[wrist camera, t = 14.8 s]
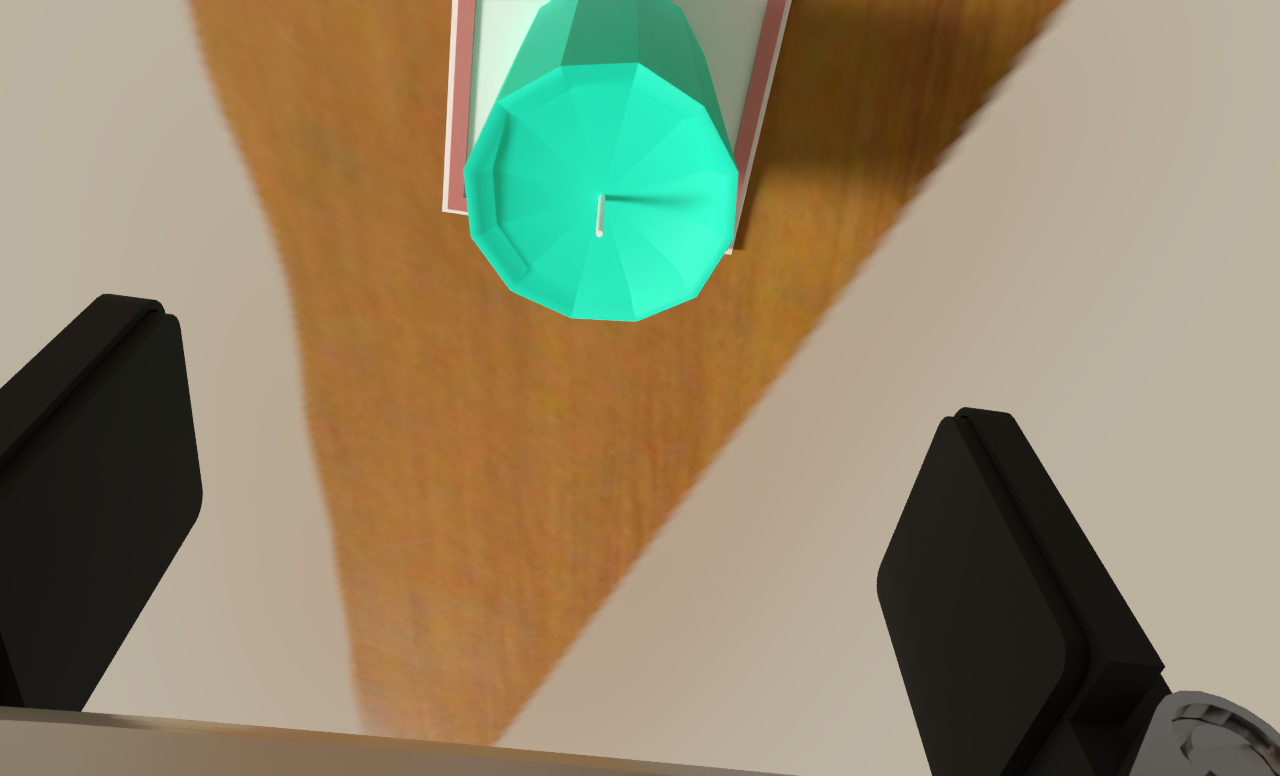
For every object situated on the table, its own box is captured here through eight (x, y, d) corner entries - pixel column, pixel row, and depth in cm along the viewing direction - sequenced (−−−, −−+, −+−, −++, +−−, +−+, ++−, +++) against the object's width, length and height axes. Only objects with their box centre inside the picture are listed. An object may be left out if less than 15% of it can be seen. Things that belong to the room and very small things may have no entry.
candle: (746, 81, 28) (809, 234, 18) (612, 209, 31) (602, 408, 21) (609, -71, 26) (595, 8, 16) (475, 79, 28) (387, 232, 18)
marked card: (460, -124, 26) (457, -123, 25) (803, -61, 27) (806, -59, 26) (444, 206, 31) (441, 213, 30) (730, 249, 32) (731, 257, 31)
